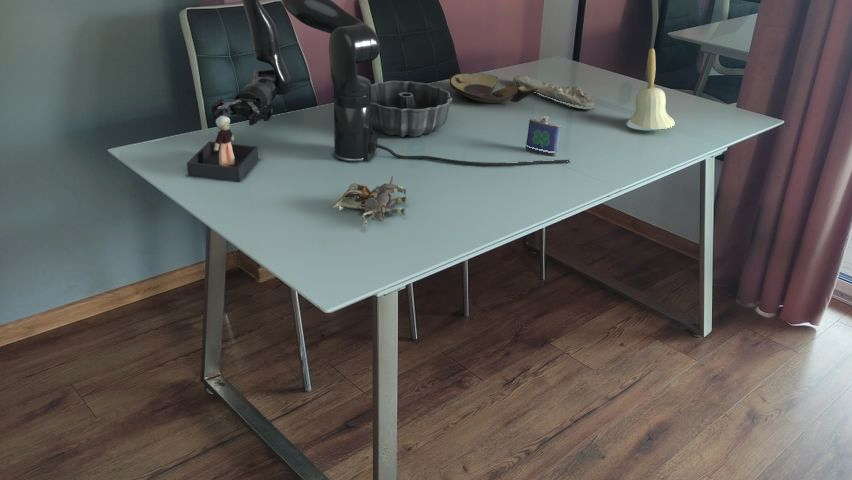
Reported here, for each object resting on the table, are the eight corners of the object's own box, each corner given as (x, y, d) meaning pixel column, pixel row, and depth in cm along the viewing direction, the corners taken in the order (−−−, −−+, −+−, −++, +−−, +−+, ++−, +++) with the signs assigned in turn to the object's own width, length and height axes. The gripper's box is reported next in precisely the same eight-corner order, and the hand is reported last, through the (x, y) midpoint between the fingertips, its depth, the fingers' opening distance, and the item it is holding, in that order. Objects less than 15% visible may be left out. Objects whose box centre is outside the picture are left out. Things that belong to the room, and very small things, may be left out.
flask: (557, 154, 214) (562, 118, 209) (554, 157, 212) (559, 121, 207) (527, 147, 217) (531, 111, 211) (523, 150, 215) (528, 114, 209)
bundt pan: (340, 130, 214) (340, 95, 208) (386, 106, 235) (387, 74, 230) (424, 151, 206) (425, 116, 201) (464, 124, 228) (466, 92, 223)
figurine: (405, 211, 162) (325, 208, 160) (404, 235, 166) (326, 232, 164) (407, 169, 179) (334, 165, 177) (406, 191, 182) (335, 188, 180)
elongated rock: (524, 84, 273) (505, 90, 267) (525, 70, 271) (505, 75, 264) (602, 108, 253) (583, 114, 247) (603, 92, 250) (584, 98, 244)
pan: (258, 159, 191) (257, 146, 189) (239, 181, 179) (238, 168, 177) (210, 154, 191) (208, 141, 189) (188, 176, 179) (186, 162, 177)
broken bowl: (482, 83, 265) (484, 61, 261) (544, 109, 248) (547, 86, 244) (433, 92, 251) (434, 69, 247) (494, 120, 234) (497, 96, 230)
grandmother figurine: (229, 172, 181) (225, 122, 175) (213, 171, 181) (208, 120, 175) (240, 160, 188) (236, 111, 181) (225, 159, 188) (220, 109, 181)
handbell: (665, 137, 232) (667, 53, 221) (618, 133, 239) (618, 52, 228) (680, 125, 244) (684, 44, 233) (636, 121, 251) (637, 43, 240)
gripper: (225, 82, 199) (202, 101, 185) (279, 88, 199) (261, 108, 185) (228, 110, 203) (205, 131, 189) (281, 116, 203) (263, 137, 189)
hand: (233, 119), depth 187 cm, fingers open, 8 cm apart
